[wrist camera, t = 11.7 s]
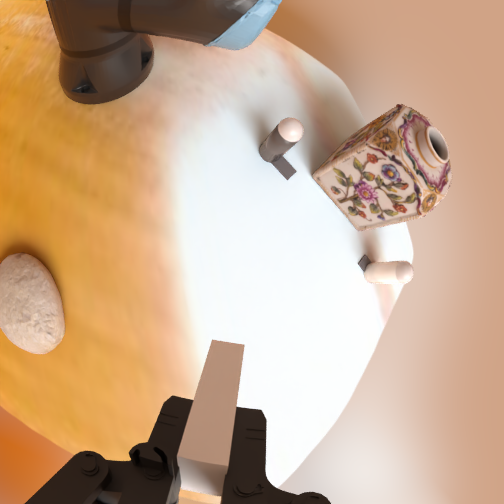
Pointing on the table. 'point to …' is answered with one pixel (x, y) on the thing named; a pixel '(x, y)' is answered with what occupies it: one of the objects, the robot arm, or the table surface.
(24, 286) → the stone
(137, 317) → the table surface
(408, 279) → the salt shaker
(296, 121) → the pepper shaker
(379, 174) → the decorative jar
